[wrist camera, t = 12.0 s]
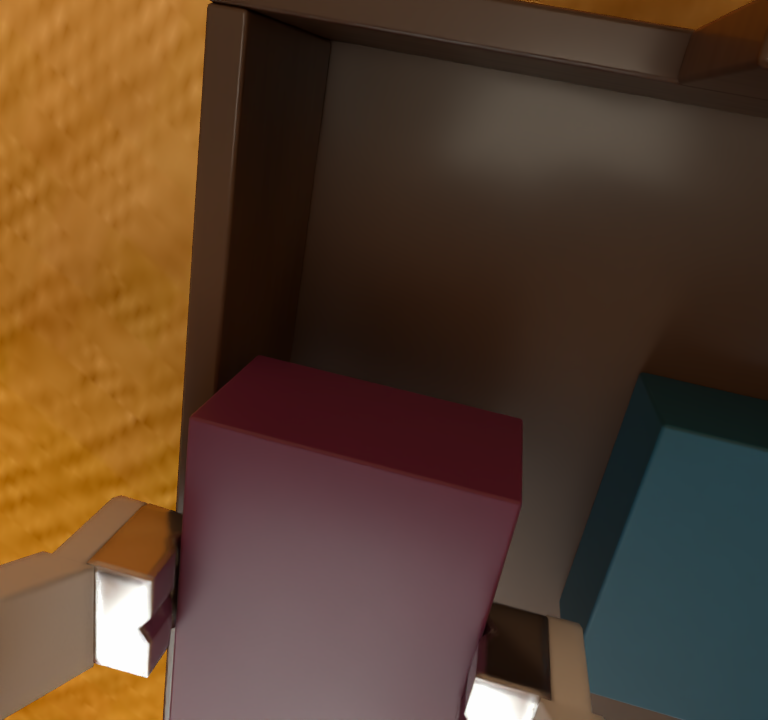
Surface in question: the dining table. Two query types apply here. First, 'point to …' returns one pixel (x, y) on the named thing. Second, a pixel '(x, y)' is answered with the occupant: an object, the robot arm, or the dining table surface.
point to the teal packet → (679, 557)
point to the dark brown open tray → (485, 224)
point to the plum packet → (337, 548)
